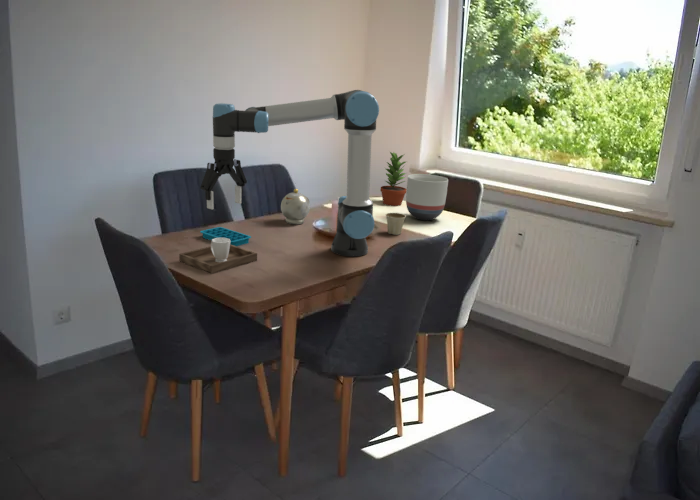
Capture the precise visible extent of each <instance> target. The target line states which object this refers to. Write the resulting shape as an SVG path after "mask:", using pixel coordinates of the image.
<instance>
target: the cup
mask: <svg viewBox="0 0 700 500" xmlns="http://www.w3.org/2000/svg"><path fill="white" fill-rule="evenodd" d="M230 242H231V241H230V239H228V238H215V239H212V241H210V246H211V251H212V253H213V255H214V257H215V258H216V259H215V261H216V262H219V263H220V262H224V261H227V258H228V254H229V248H230Z"/></svg>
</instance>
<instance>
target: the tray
mask: <svg viewBox="0 0 700 500" xmlns="http://www.w3.org/2000/svg"><path fill="white" fill-rule="evenodd" d="M178 257H179V261H180V262H179V263H181V264H184V263H185V264H184V265H187V266H190V267H192V268H194V267H195V268H194V269H198V270H200V271H202V272H204V273H207V274H210V275H214V274H216V273H217V274H218V273H220V272H224V271H226V270H227V271H228V270H230V269H234V268H237V267H240V266H243V265H247V264H251V263H254V262H258V253H257V252H254V251H251V250H248V249H246V248H242V247H239V246H234V245H231V244H230V248H229V254H228V258H227V261H224V262H220V263H219V262H216V261H215V259H216V258H215V257H214V255H213V253H212V251H211V245H210V246H206V247H202V248H199V249H195V250H190V251H186V252H183V253H179V256H178Z"/></svg>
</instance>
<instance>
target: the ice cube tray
mask: <svg viewBox="0 0 700 500" xmlns="http://www.w3.org/2000/svg"><path fill="white" fill-rule="evenodd" d="M199 233H200V234H202V238H203V239H204V238H205V239H204V240H207V239H208V241H210V240H211V241H212V239H215V238H228V239H230V241H231V242H230V244H231V245H234V246H237V247H239V246H243V245H248V244H249V243H250V239H251V238H252V236H251V235H248V234H244V233H242V232H239V231H235V230H232V229H229V228H226V227H222V226H218V227H213V228H207V229H203V230H200V232H199ZM211 241H210V242H211Z"/></svg>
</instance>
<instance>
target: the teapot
mask: <svg viewBox="0 0 700 500" xmlns="http://www.w3.org/2000/svg"><path fill="white" fill-rule="evenodd" d="M310 209H311V205H310V199H309V197H307V196H306V195H304V194H303V193H301V192H299V189H298V188H294V189H293V192H289V193H287V194H286V195H285V196H284V197H283V198H282V200H281V204H280V211H281V212H282V213H281V214H282V215H283V216H284V218H285V223H287V224H290V225H295V226H296V225H302V224H304V223H305V219H306V218H307V216H308V215H309V213H310V211H311V210H310Z"/></svg>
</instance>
